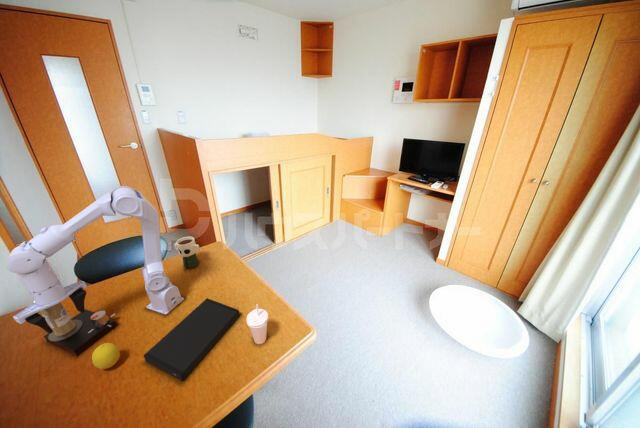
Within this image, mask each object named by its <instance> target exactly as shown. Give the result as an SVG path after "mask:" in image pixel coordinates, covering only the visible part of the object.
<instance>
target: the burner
mask: <svg viewBox="0 0 640 428" xmlns="http://www.w3.org/2000/svg"><path fill="white" fill-rule="evenodd" d="M72 322H73V323H74V324H75V327H74V328H73V329H72V330H71V331H70V332H68V333H66V334H64V335H61V336H57V335H55V332H54V331H53V332H52V333H51V334H49V336H48V339H49V340H50V341H52V342H56V341H61V340H64V339H66V338H68V337H70V336H72V335H73V334H75V333H76V332H77V331H79V330H80V328H81V327H82V325H83V323H82V321H81V320H72Z"/></svg>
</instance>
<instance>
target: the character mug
mask: <svg viewBox="0 0 640 428" xmlns="http://www.w3.org/2000/svg"><path fill="white" fill-rule="evenodd" d="M173 246H174V249H175V251H177V252H178V255H179V256H180V257H182V265H183V268H185V269H187V267H188V269H193V268H195V267H197V266H198V265H199V263H200V260H199V258H198V255H197V254H196V253H197V252H199V251H200V250H201V249H200V245H199V244H196V240H195V238H194V237H193V236H184V237H180V238H179V239H177V240H176V242H175V243H174V245H173Z"/></svg>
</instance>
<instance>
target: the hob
mask: <svg viewBox="0 0 640 428" xmlns="http://www.w3.org/2000/svg"><path fill="white" fill-rule="evenodd" d="M94 313H95V312H94V311H92V310H89V309H86V308H85V312H83V313H82V312H78V313H77V314H76V315H74V316H73V317H70V318H71V320H81V321H82V323H83V325H82V327H81V328H80V330H79V331H77V332H76V333H75V334H73V335H72V336H70V337H68V338H66V339H64V340H61V341H56V342H52V341H50V340H49V339H48V336H49V333H46V334H44V335H43V338H44V339H45V340H46V342H47V343H49V344H51V345H53V346H55V347H58V348H59V349H61V350H64V351H65V352H68V353H70V354H72V355H73V356H76V357H78V356H80V355H81V354H82V353H83V352H85V351H86V350H88V349H89V348H90V347H91V346H92V345H94V344H95V343H97V342H98V341H99V340H101V339H102V338H103V337H105V336H106V335H107V334H108V333H110V332H111V331H112V330H114V329H115V328H116V327H117V326H118V325H117V323H116V321H115V320H114V319H112V317H114V316H115V315H116V313H113V314H111V315H110V316H109V317H110V318H109V322H108V323H107V324H106V325H105V326H103V327H100V328H96V327H95V326H94V324H93V322H92V320H91V316H92V315H93V314H94Z"/></svg>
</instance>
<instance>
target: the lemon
mask: <svg viewBox="0 0 640 428" xmlns="http://www.w3.org/2000/svg"><path fill="white" fill-rule="evenodd" d="M120 357H121V351H120V349H119V347H118V346H117V345H116V344H114V343H113V342H105V343H102V344H100V345H99V346H97V347H96V348H95V349H94V351H93V352H92V354H91V362H92V365H94V367H95V368H97V369H99V370H107V369H109V368H112V367H113V366H114V365H115V364H116V363H117V362H118V361H119V359H120Z"/></svg>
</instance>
